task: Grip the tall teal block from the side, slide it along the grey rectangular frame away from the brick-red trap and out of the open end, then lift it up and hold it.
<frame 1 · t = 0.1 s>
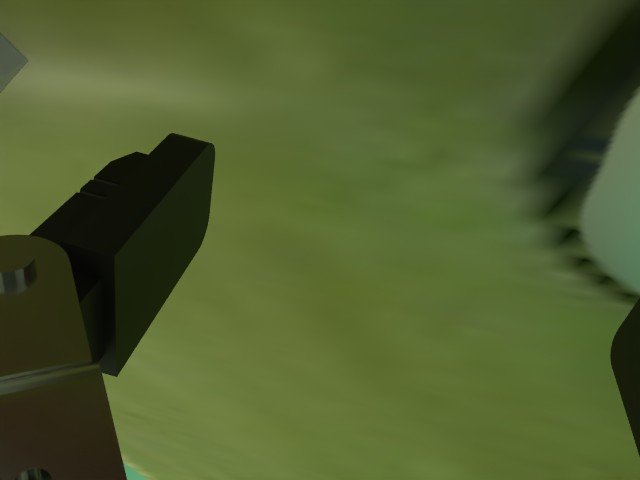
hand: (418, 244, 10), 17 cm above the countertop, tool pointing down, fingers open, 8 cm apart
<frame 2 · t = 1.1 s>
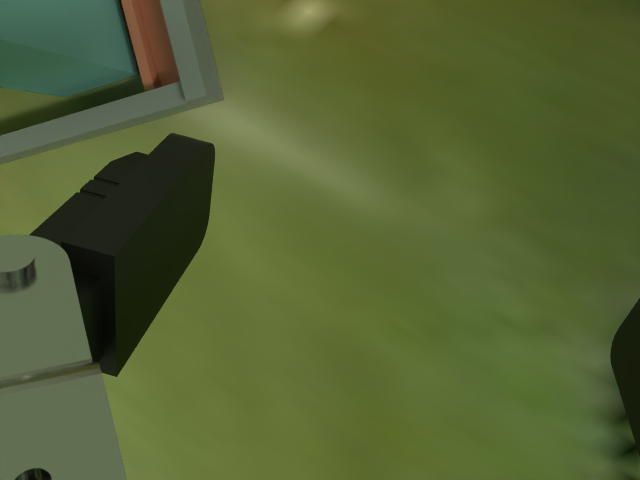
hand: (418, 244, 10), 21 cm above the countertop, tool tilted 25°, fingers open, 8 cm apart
teal block: (90, 43, 34), resting in grey rectangular frame
grey rectangular frame: (47, 58, 35), on the countertop
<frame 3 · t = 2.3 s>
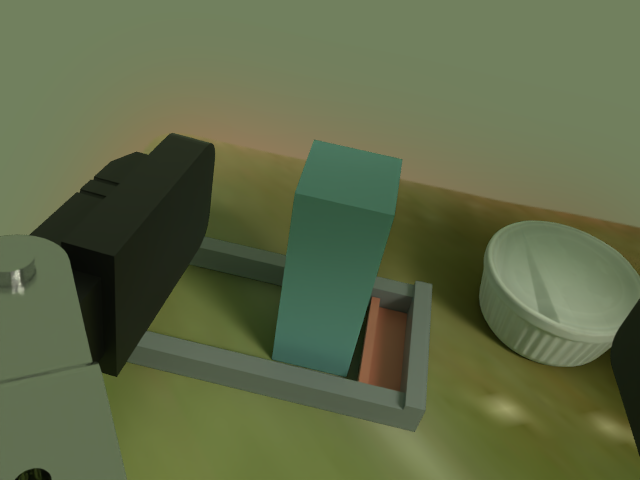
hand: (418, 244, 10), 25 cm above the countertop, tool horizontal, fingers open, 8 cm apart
teal block: (316, 338, 40), resting in grey rectangular frame
grey rectangular frame: (273, 328, 40), on the countertop
ramekin: (536, 320, 44), on the countertop
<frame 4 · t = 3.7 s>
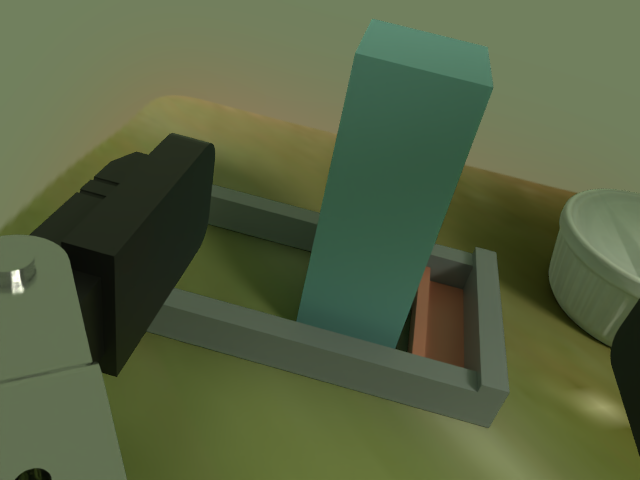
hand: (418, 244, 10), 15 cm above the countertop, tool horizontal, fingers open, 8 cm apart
teal block: (350, 309, 31), resting in grey rectangular frame
grey rectangular frame: (296, 294, 31), on the countertop
ramekin: (619, 310, 35), on the countertop
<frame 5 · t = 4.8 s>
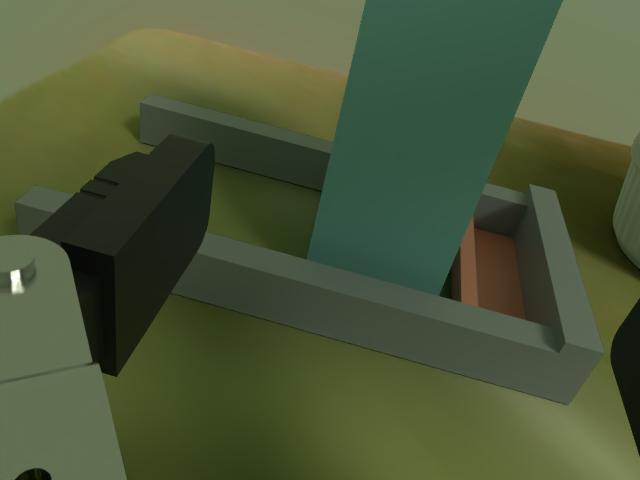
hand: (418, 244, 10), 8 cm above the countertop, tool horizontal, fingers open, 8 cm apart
teal block: (374, 257, 24), resting in grey rectangular frame
grey rectangular frame: (304, 237, 24), on the countertop
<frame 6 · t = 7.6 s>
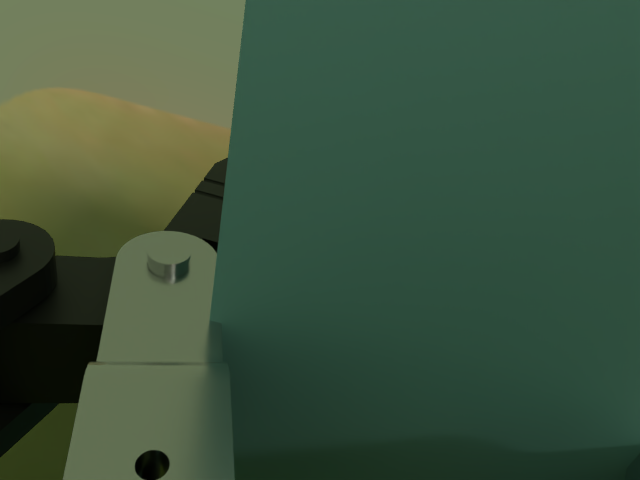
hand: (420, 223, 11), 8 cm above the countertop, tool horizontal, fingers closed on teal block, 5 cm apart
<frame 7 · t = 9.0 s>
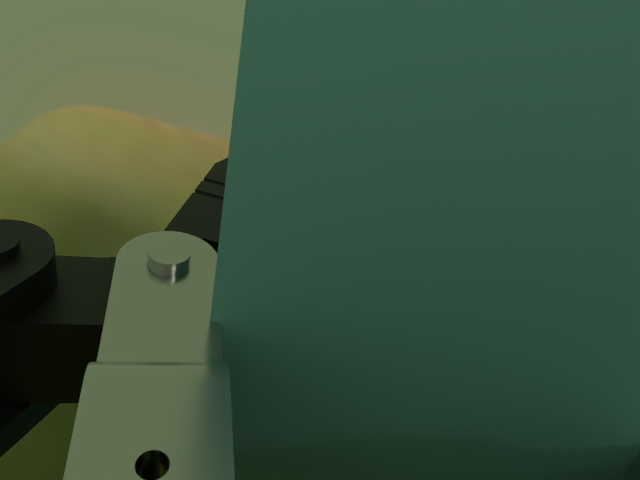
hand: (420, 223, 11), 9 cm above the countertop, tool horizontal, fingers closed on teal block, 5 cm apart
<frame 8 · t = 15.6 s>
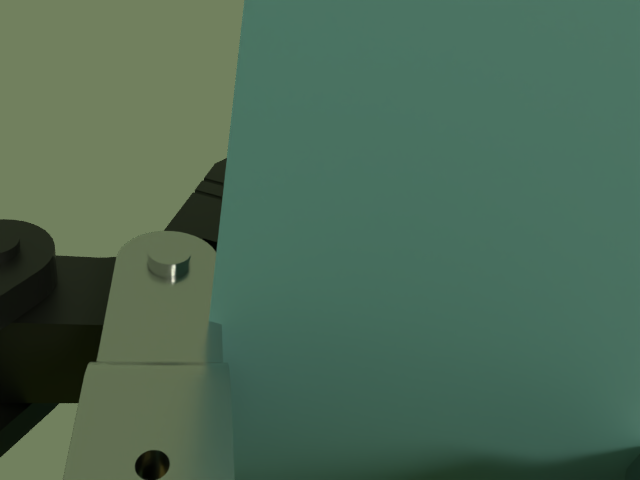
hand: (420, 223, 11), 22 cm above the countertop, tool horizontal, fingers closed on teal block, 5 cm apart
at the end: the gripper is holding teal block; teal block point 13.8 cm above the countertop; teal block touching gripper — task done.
